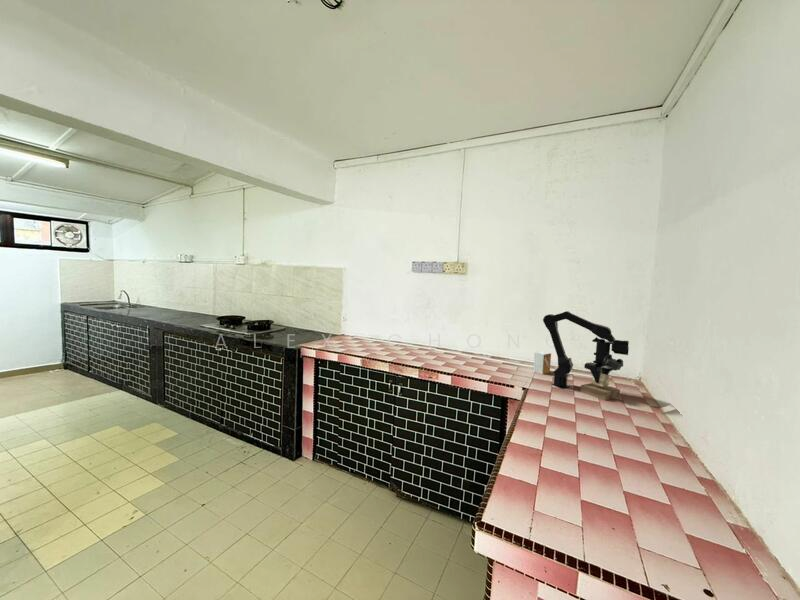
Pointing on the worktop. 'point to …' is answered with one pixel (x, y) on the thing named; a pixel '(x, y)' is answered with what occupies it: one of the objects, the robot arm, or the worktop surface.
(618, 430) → the worktop surface
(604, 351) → the robot arm
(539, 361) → the small box
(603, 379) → the maple cube
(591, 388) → the walnut block
